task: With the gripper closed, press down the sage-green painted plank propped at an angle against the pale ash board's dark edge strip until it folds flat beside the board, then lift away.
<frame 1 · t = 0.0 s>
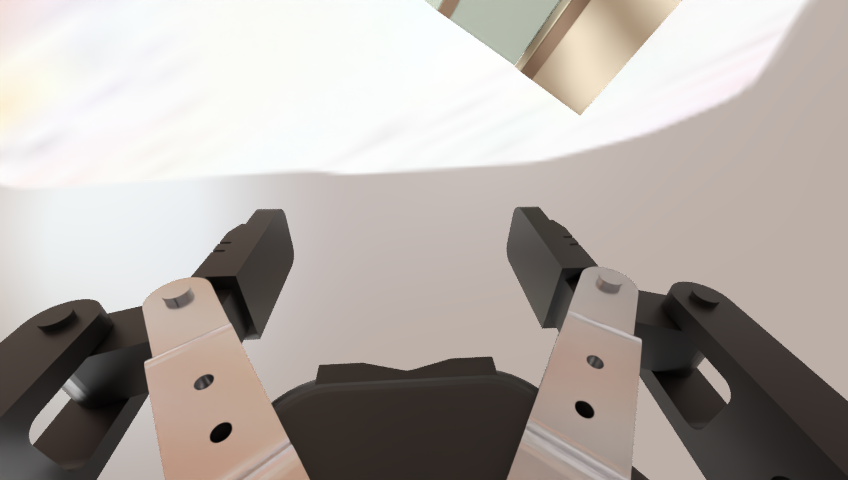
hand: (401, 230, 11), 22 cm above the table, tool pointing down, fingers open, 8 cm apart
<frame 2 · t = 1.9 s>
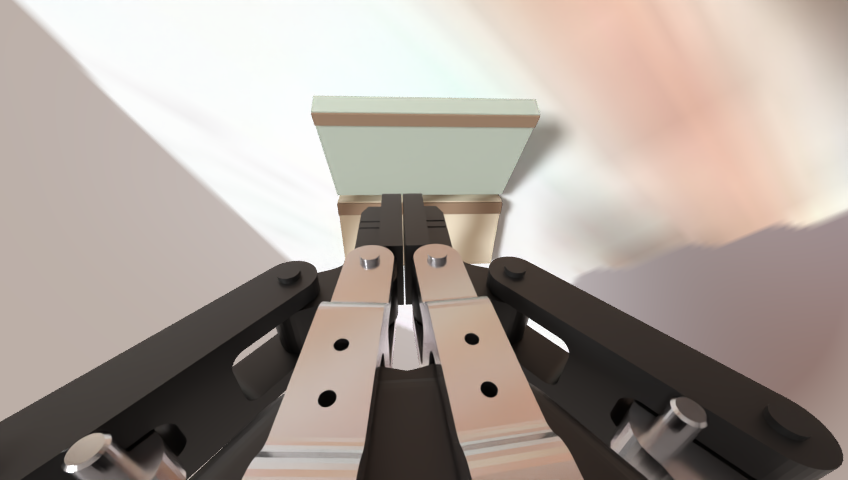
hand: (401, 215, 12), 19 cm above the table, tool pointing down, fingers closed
sage plank: (424, 154, 27), point 3 cm above the table, hinge at 30.0°
ash board: (419, 227, 34), on the table
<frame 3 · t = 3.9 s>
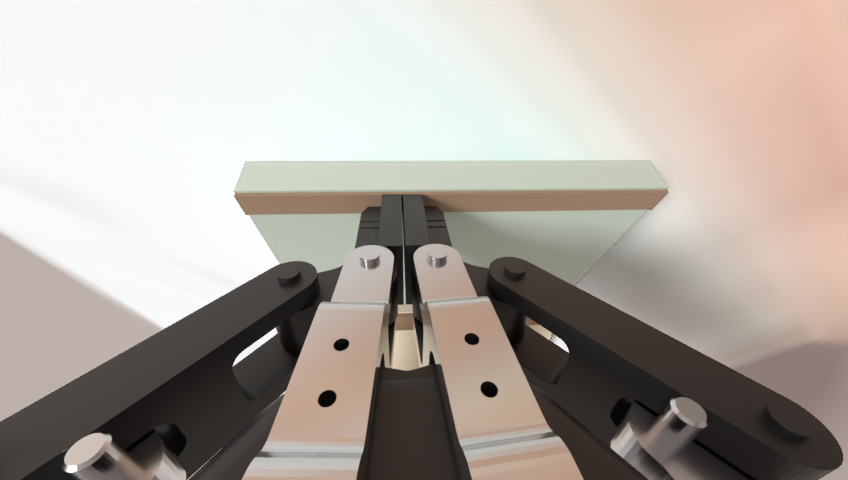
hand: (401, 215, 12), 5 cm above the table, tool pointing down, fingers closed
sage plank: (445, 248, 16), point 3 cm above the table, hinge at 22.4°, touching gripper
ash board: (433, 334, 23), on the table
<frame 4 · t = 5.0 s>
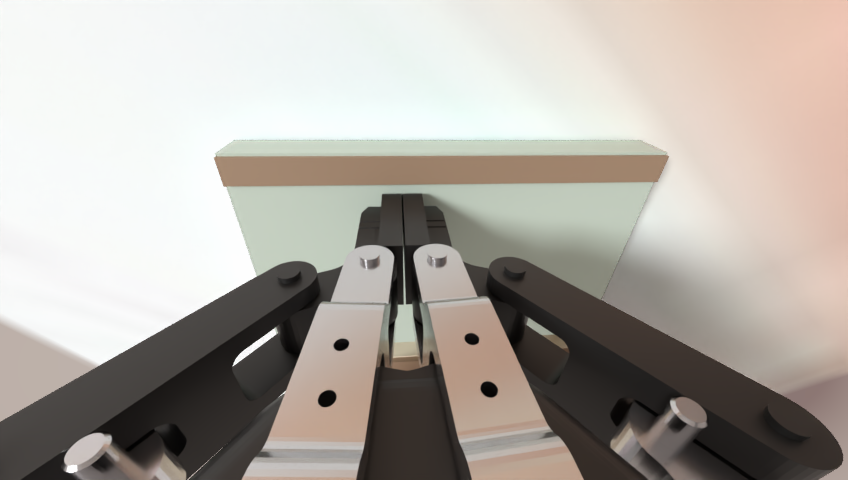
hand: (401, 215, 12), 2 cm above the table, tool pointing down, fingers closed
sage plank: (443, 255, 14), point 1 cm above the table, hinge at 0.7°, touching gripper
ash board: (433, 373, 20), on the table
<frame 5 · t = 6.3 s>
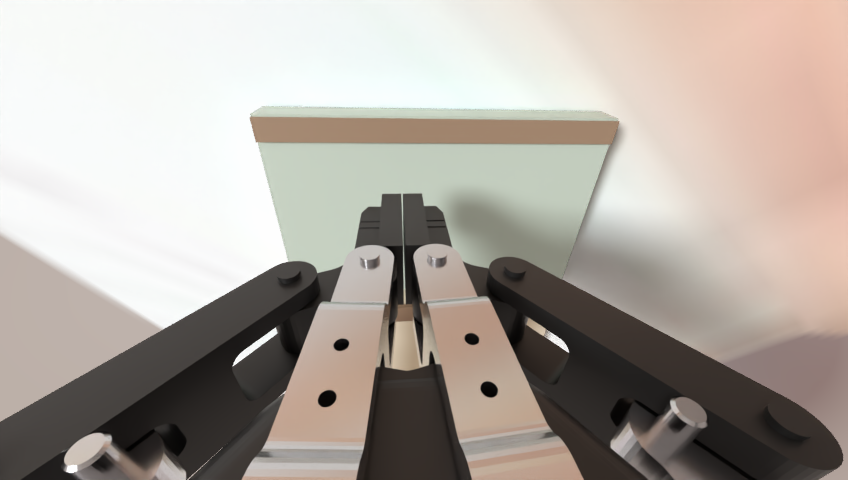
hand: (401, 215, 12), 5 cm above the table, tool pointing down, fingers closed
sage plank: (435, 210, 17), point 1 cm above the table, hinge at 0.6°
ash board: (427, 326, 23), on the table
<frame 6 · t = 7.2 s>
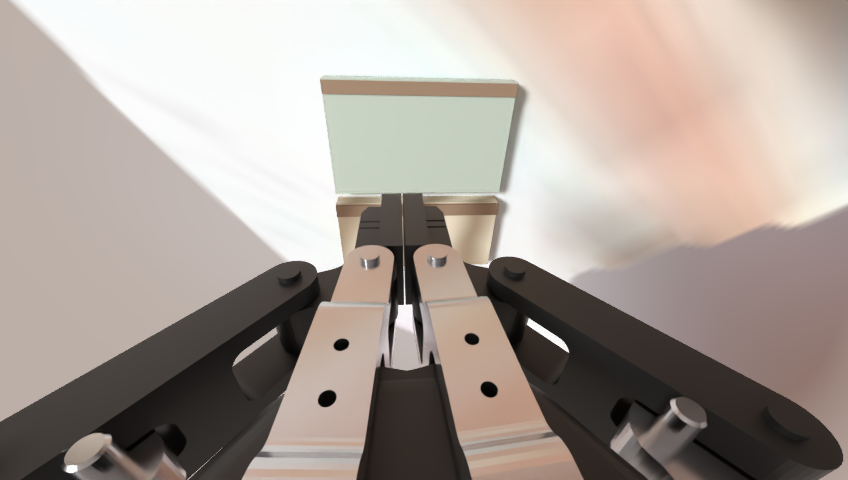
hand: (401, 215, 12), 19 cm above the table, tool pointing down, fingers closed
sage plank: (419, 139, 29), point 1 cm above the table, hinge at 0.6°
ash board: (417, 229, 35), on the table
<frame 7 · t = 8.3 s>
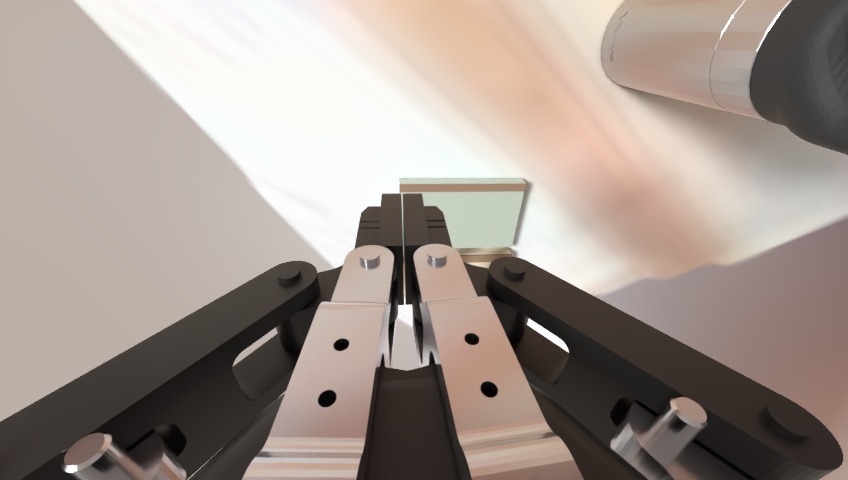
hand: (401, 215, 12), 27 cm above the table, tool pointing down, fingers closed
sage plank: (459, 215, 43), point 1 cm above the table, hinge at 0.6°
ash board: (452, 269, 49), on the table
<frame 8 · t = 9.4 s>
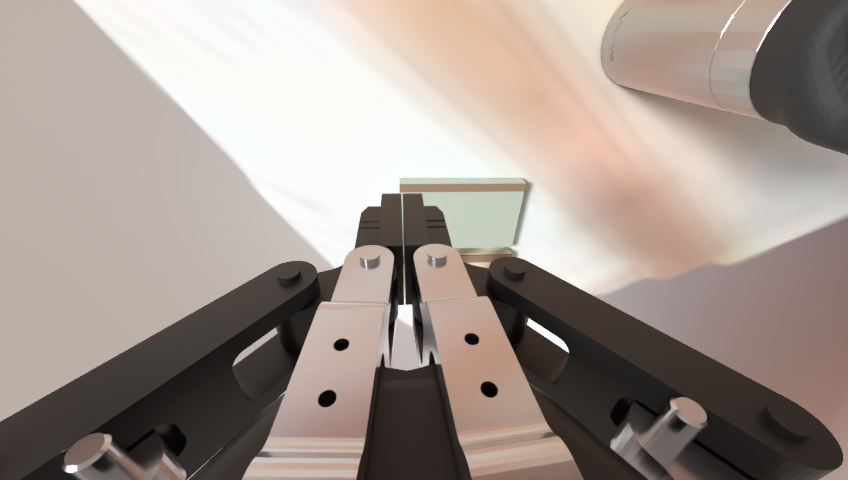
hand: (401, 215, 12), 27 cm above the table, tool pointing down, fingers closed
sage plank: (459, 215, 43), point 1 cm above the table, hinge at 0.6°
ash board: (452, 269, 49), on the table
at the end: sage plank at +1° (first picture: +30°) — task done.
